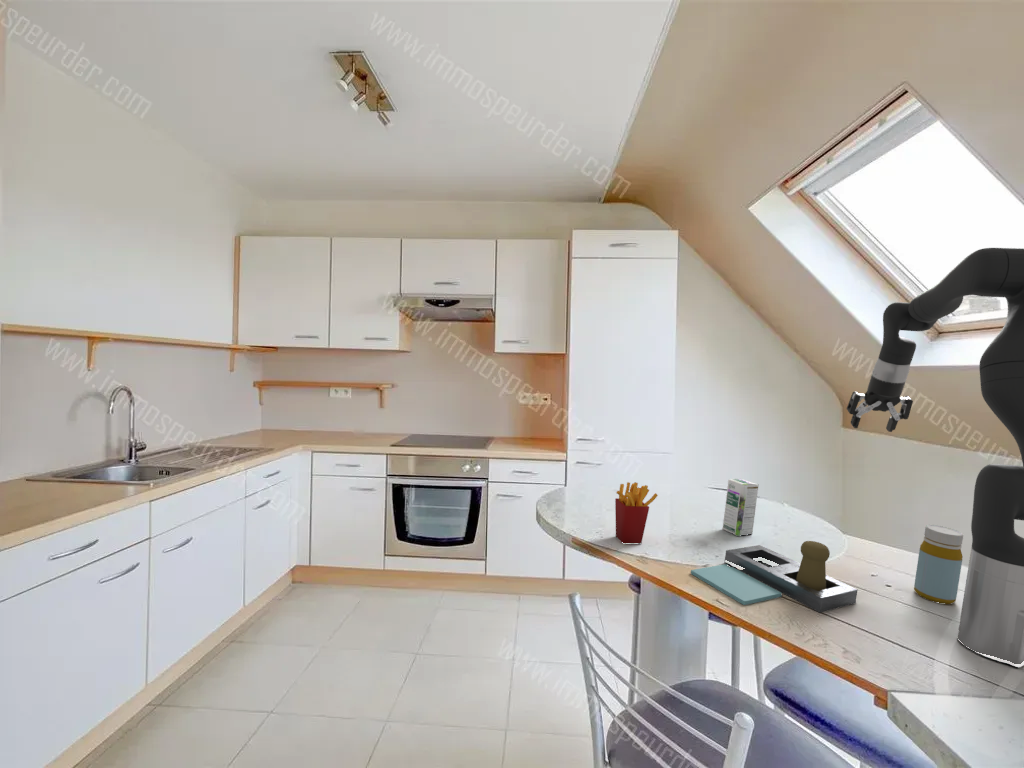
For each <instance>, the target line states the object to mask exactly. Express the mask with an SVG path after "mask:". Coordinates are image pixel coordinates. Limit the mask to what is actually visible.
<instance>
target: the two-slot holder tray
mask: <svg viewBox="0 0 1024 768" xmlns="http://www.w3.org/2000/svg"><path fill="white" fill-rule="evenodd" d="M758 557H762V558H765V559H767V560H770V561H773V562H775V563H777V564H779V565H778V566H773V567H771V566H768V565H766V564H764V563H762V562H757V561H755V560H753V558H758ZM725 560H727V561H729V562H732V563H734V564H736V565H739V566H741V567H743V568H745V569H743V570H739V571H741V572H743V573H745V574H747V575H749V576H751V577H752V578H754V579H756V580H758V581H760V582H762V583H764V584H766V585H768V586H770V587H771V588H773V589H775V590H777V591H779V592H781V593H782V595H785V596H787V597H789V598H791V599H793V600H794V601H796V602H798V603H801V604H802V605H804V606H806V607H808V608H810V609H812V610H813V611H816V612H817V613H819V614H821V613H824V612H828V611H832V610H835V609H836V610H837V609H839V608H844V607H848V606H850V605H855V604H857V598H858V589H857V588H855V587H853V586H850V585H848V584H846V583H845V582H843V581H841V580H838V579H835V578H834V577H831V576H829V575H827V574H826V589H825V590H820V591H816V590H814V589H812V588H810V587H808V586H806V585H804V584H802V583H800V582H798V581H796V578H797V574H798V571H799V568H800V564H801V562H799V561H797V560H794V559H791V558H789V557H787V556H785V555H782V554H780V553H778V552H776V551H774V550H771V549H769V548H768V547H765V546H763V545H761V544H758V545H752V546H746V547H745V546H744V547H740V548H739V547H738V548H733V549H727V550H725V555H724V561H725Z"/></svg>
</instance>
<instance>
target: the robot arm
mask: <svg viewBox="0 0 1024 768" xmlns="http://www.w3.org/2000/svg"><path fill="white" fill-rule="evenodd" d="M966 296H976V297H977V296H978V297H989V298H1005V299H1006V303H1007V314H1006V315H1007V316H1006V321H1005V323H1004V325H1003V327H1002V328H1001V330H1000V331H999V332H998V334H997V335H996V336H995V337H994V339H993V340H992V341H991V342H990V344H989V345H988V346H987V348H986V349H985V350H984V351H983V353H982V355H981V357H980V360H979V380H980V391H981V392H980V393H981V395H982V398H983V400H984V402H985V403H986V405H987V407H989V408H990V410H991V411H992V412H993V414H994V415H995V416H996V418H997V419H998V420H999V421H1000V422H1001V423H1002V424H1003V426H1004V427H1005V428H1006V429H1007V430H1008V431H1009V433H1010V434H1011V436H1012V437H1013V439H1014V440H1015V442H1016V444H1017V447H1018V449H1019V453H1020V456H1021V463H1022V465H1014V464H1013V465H1012V464H1004V463H1003V464H1002V463H991V464H987V465H985V466H984V467H982V469H980V471H979V472H978V473H977V474H978V475H977V476H976V479H975V485H974V490H973V505H972V516H971V523H970V527H971V530H970V531H971V536H972V539H971V540H972V542H971V543H972V544H971V548H970V549H971V550H970V554H969V555H970V556H969V560H968V569H967V573H966V579H965V587H964V593H963V598H962V599H963V600H962V606H961V612H960V619H959V624H958V630H957V637H958V638H957V640H958V639H959V640H960V641H961V642H962V643H963V644H964V645H965V646H967V647H969V648H970V649H972V650H974V651H976V652H979V653H982V654H986V655H990V656H994V657H997V658H1000V659H1003V660H1007V661H1010V662H1012V663H1014V664H1021V663H1022V662H1023V661H1024V537H1022V536H1020V535H1019V534H1017V532H1016V531H1015V520H1017V521H1018V520H1019V521H1023V522H1024V248H1019V247H1018V248H1015V247H1014V248H1012V247H1007V248H1006V247H985V248H979V249H977V250H975V251H973V252H972V253H970V254H969V255H967V256H966V257H964V258H963V259H962V260H961V261H960V262H959V263H958V264H957V265H956V266H954V267H953V269H951V270H950V272H948V274H946V275H945V276H944V277H943V278H942V279H941V280H940V281H939V282H938V283H936V285H934V286H932V287H931V288H929V289H927V290H925V291H923V292H922V293H920V294H918V295H916V296H915V297H914V298H913V299H912V300H911V301H910V302H906V301H905V302H902V301H899V302H898V301H895V302H892V303H890V304H889V305H887V306H886V308H885V309H884V311H883V313H882V315H883V316H882V325H883V327H882V328H883V329H882V330H883V332H882V334H883V338H882V345H881V348H880V351H879V355H878V357H877V360H876V362H875V364H874V366H873V369H872V372H871V375H870V379H869V382H868V385H867V390H866V391H865V393H858V391H853V392H852V393H851V396H850V399H849V401H848V404H847V407H846V410H847V413H849V414H850V415H852V417H851V419H850V425H851V426H852V428H854V429H858V428H859V425H860V422H861V419H862V418H861V417H862V416H863V415H865V414H867V413H869V412H871V411H874V412H883V413H886V412H889V414H890V416H889V419H888V421H887V424H886V427H885V428H886V430H887V431H888V432H890V433H892V432H893V431H896V427H897V425H898V422H899V421H900V420H908V419H909V417H910V413H911V411H912V406H913V404H914V403H913V402H914V401H913V399H912V398H910V397H909V396H908V395H905V396H904V397H903V396H901V395H902V393H903V390H904V388H905V385H906V383H907V382H906V381H907V378H908V376H909V373H910V368H911V364H912V361H913V358H914V355H915V352H916V350H917V343H916V341H914V340H912V339H910V338H907V337H904V336H900V331H904V332H905V331H908V332H925V331H928V330H931V329H932V328H933V327H934V325H935V324H936V323H937V322H938V320H939V319H942V318H944V317H946V316H948V315H951V314H952V313H954V312H956V311H957V310H958V309H959V307H960V306H961V305H962V303H963V300H964V297H966ZM862 400H864V401H863V402H861V401H862ZM859 402H861V403H860V404H859ZM858 404H859V405H858ZM898 404H901V406H900V409H899V412H898V411H897V409H896V408H895V406H897V405H898ZM857 406H858V407H857ZM965 646H964V647H965Z"/></svg>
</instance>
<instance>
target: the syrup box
mask: <svg viewBox="0 0 1024 768" xmlns="http://www.w3.org/2000/svg"><path fill="white" fill-rule="evenodd" d="M726 488H727V490H726V497H725V505H724V506H725V507H724V512H723V513H724V515H723V522H722V530H723V531H725V532H728V533H730V534H732V533H733V534H732V535H734V534H735V536H736V535H737V536H736V537H741V536H740V535H746V536H748V535H747V534H752V535H753V531H754V523H755V516H756V510H757V509H756V507H757V499H758V493H759V492H758V491H759V484H758V483H754V482H752V481H749V480H746V479H743V478H729V479H728V481H727V487H726Z"/></svg>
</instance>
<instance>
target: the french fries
mask: <svg viewBox="0 0 1024 768" xmlns="http://www.w3.org/2000/svg"><path fill="white" fill-rule="evenodd" d="M638 484H639V483H638V482H633V483H632V484H631V482H629V481H627V482H626V489H625V491H624V487H625V485H624V483H620V484H619V490H617V491H616V492H615V493H616V494H617V495H618V498H615V500H614V502H615V505H614V506H615V507H614V508H615V511H614V512H615V537H616V538H617V539H618V540H619V542H620V543H622V542H623V543H641V544H642V542H643V537H644V534H645V529H646V524H647V520H648V514H649V510H650V506H649V505H650V504H651V503H653V502H654V501H655V500H656V499H657V497H658V496H659V494H657V493H654V494H653V495H652V496H651V497H650V499H648V500H647V501H646V502H644V500H645V498H646V497H647V495H648V493H649V491H650V489H649V488H648V487H649V486H648V485H646V484H645V485H641V487H638ZM624 492H625V493H624ZM623 543H622V544H623Z"/></svg>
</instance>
